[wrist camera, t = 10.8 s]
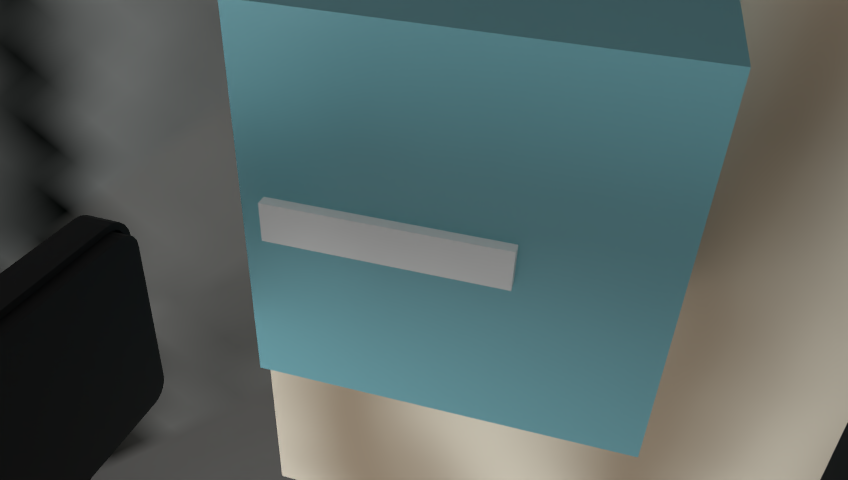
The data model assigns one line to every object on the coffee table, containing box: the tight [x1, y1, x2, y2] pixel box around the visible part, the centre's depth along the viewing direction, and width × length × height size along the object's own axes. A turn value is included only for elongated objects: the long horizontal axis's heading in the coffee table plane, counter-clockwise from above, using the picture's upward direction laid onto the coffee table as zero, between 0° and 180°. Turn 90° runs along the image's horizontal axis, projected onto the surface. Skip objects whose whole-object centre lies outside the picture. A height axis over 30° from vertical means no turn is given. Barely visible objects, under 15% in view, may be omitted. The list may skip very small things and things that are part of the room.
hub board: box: [271, 0, 848, 480], centre depth 17 cm, size 22×17×6 cm
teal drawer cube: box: [218, 0, 751, 457], centre depth 14 cm, size 7×7×5 cm
